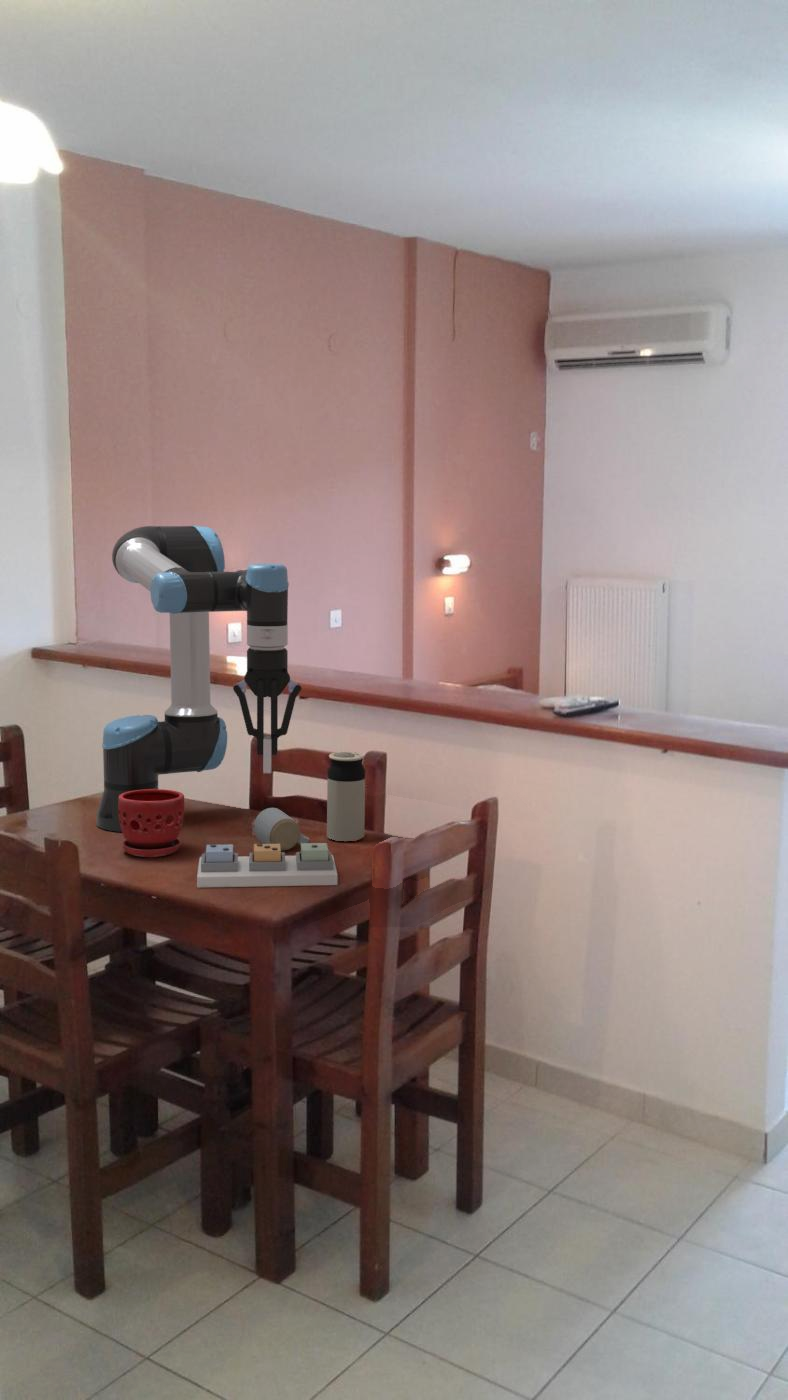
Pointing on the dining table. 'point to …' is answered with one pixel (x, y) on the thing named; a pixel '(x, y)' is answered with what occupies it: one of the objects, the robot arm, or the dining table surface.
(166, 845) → the plant pot
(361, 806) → the travel mug
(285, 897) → the dining table surface
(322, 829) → the dining table surface
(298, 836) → the ceramic mug
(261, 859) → the three dot tile
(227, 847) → the two dot tile
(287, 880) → the tile board
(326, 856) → the one dot tile
